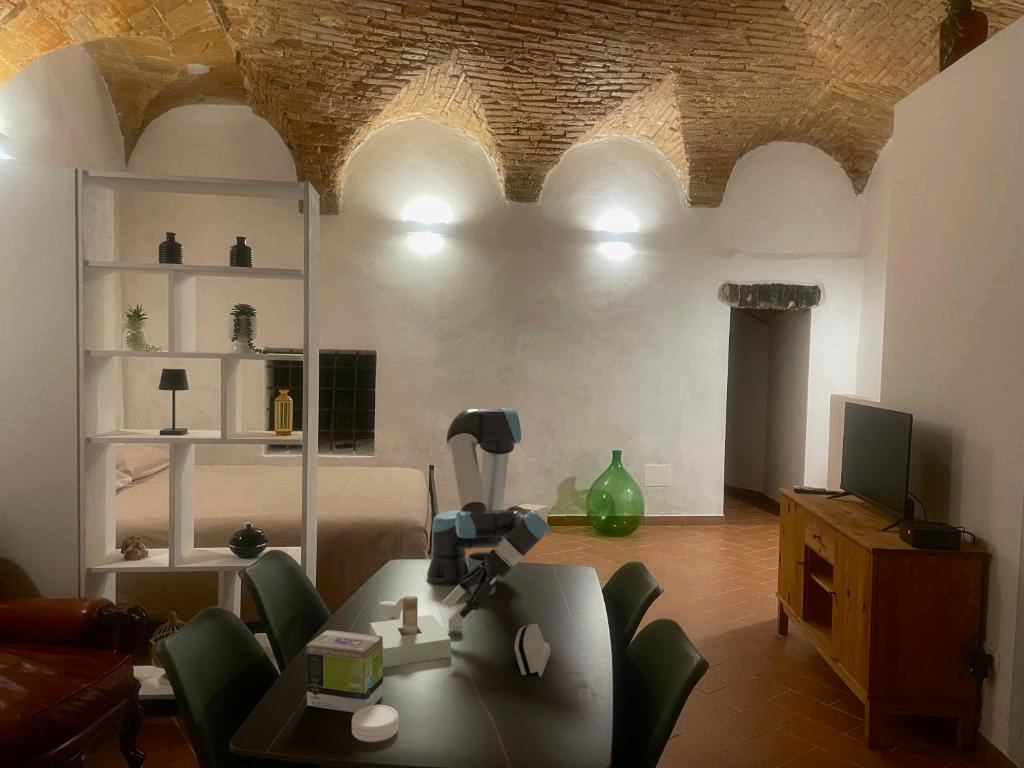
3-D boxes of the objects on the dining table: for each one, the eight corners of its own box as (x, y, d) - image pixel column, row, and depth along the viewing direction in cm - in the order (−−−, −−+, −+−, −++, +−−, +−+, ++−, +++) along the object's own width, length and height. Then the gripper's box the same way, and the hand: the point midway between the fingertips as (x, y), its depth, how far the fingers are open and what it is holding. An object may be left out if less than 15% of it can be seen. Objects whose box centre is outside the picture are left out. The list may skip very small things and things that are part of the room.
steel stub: (446, 631, 214) (446, 617, 214) (460, 629, 215) (460, 616, 215) (450, 636, 210) (450, 622, 210) (464, 634, 212) (464, 621, 211)
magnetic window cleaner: (541, 677, 186) (528, 639, 186) (523, 681, 187) (511, 643, 187) (551, 649, 202) (539, 615, 202) (535, 653, 203) (523, 619, 203)
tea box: (384, 695, 175) (384, 635, 174) (364, 716, 166) (364, 652, 165) (327, 686, 179) (327, 627, 178) (305, 706, 170) (304, 644, 169)
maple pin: (400, 646, 203) (401, 596, 202) (415, 644, 204) (415, 595, 203) (404, 652, 199) (404, 601, 198) (418, 650, 201) (419, 599, 200)
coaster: (401, 718, 165) (401, 703, 165) (395, 743, 155) (395, 727, 155) (356, 719, 165) (356, 703, 165) (347, 743, 155) (347, 727, 155)
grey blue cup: (463, 594, 244) (463, 558, 243) (473, 584, 254) (474, 550, 253) (492, 598, 241) (492, 562, 240) (501, 588, 251) (502, 553, 250)
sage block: (370, 640, 207) (370, 622, 206) (432, 631, 213) (432, 614, 213) (383, 667, 190) (383, 648, 190) (450, 657, 197) (450, 638, 196)
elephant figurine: (370, 626, 217) (370, 602, 216) (383, 614, 226) (383, 591, 226) (394, 628, 215) (394, 604, 215) (407, 616, 224) (407, 593, 224)
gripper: (522, 581, 194) (464, 641, 192) (503, 553, 218) (452, 606, 216) (502, 562, 192) (444, 622, 190) (486, 536, 217) (434, 589, 215)
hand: (448, 614), depth 203 cm, fingers open, 13 cm apart
